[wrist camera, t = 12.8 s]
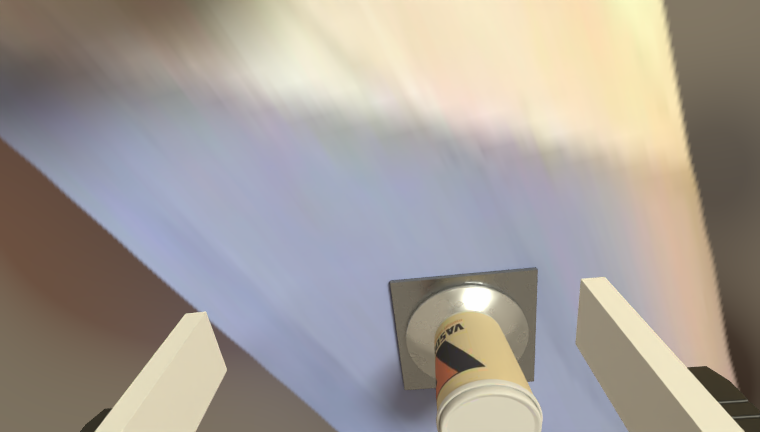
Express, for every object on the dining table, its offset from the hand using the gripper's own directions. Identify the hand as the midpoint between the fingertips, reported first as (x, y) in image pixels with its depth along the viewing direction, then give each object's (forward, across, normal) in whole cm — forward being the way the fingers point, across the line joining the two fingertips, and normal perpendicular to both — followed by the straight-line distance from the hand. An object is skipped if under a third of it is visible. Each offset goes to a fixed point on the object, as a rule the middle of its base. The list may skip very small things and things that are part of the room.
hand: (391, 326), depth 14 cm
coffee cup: (+26, +6, -23) cm, 35 cm away
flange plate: (+27, +6, -23) cm, 36 cm away
